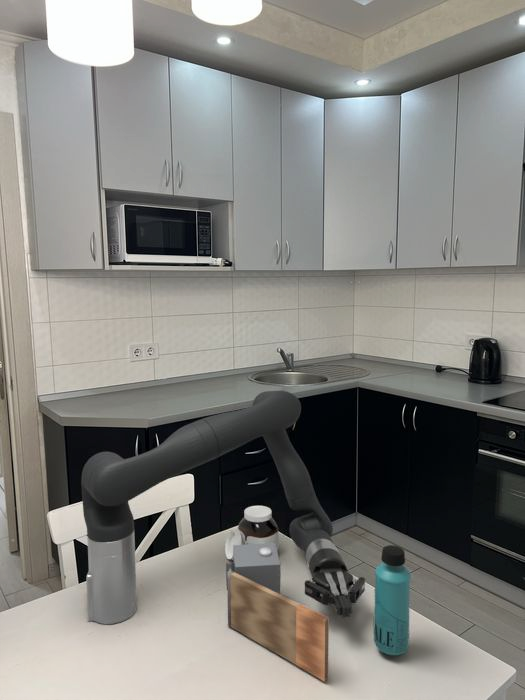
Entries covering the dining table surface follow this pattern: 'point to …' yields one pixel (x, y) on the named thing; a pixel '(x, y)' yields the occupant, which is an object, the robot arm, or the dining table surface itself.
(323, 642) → the door
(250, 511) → the spread jar
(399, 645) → the beverage bottle
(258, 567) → the box
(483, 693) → the dining table surface
